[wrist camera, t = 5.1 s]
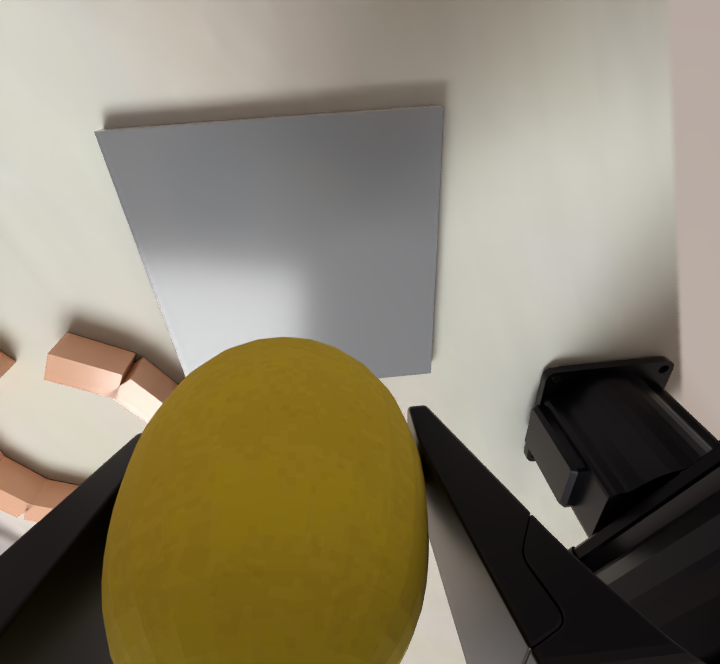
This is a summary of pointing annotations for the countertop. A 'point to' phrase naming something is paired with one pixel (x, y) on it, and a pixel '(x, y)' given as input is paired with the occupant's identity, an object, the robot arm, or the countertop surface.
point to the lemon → (269, 517)
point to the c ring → (93, 374)
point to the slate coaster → (289, 230)
